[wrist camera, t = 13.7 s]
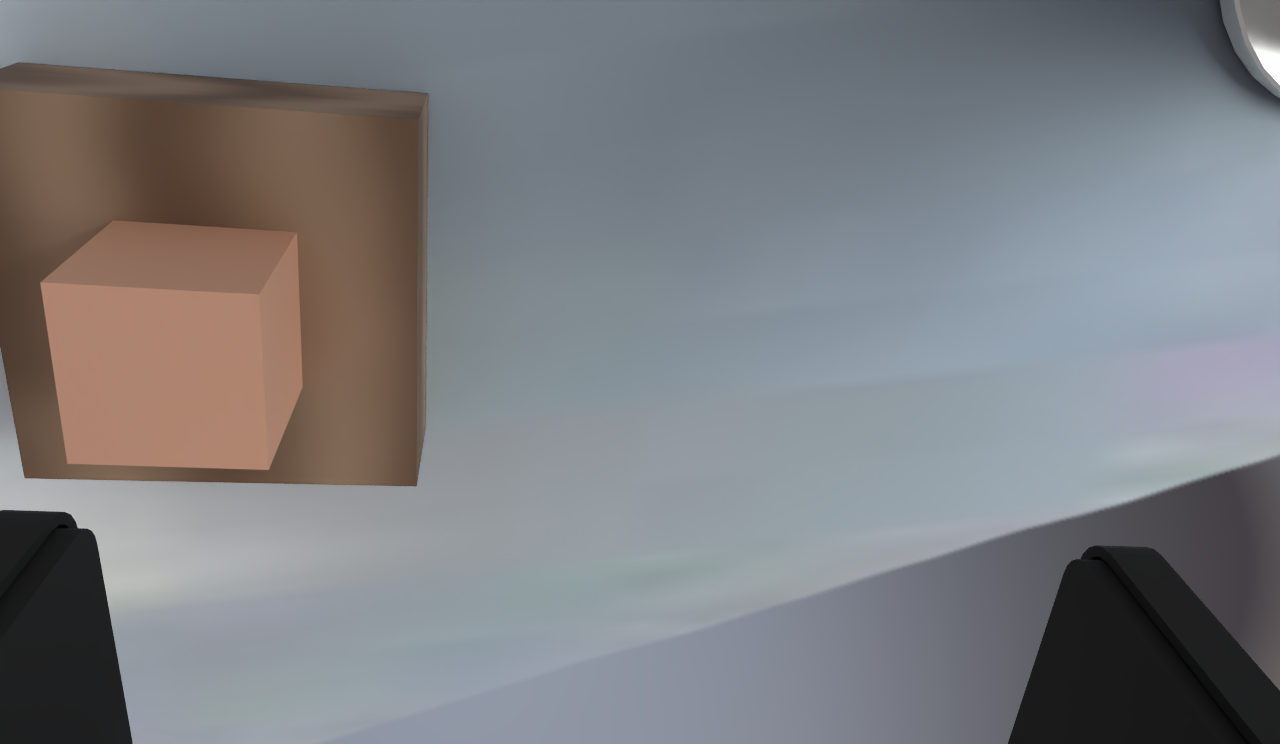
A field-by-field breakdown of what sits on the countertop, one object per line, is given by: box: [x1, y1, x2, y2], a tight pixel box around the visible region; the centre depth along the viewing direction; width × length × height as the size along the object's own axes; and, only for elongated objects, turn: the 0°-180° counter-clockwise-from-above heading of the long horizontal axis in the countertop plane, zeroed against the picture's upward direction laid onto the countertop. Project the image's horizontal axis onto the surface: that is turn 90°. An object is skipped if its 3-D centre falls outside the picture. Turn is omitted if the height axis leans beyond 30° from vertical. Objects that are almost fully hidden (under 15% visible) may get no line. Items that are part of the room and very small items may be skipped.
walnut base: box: [0, 63, 428, 486], centre depth 32 cm, size 12×12×4 cm
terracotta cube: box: [40, 220, 303, 470], centre depth 28 cm, size 5×5×5 cm
